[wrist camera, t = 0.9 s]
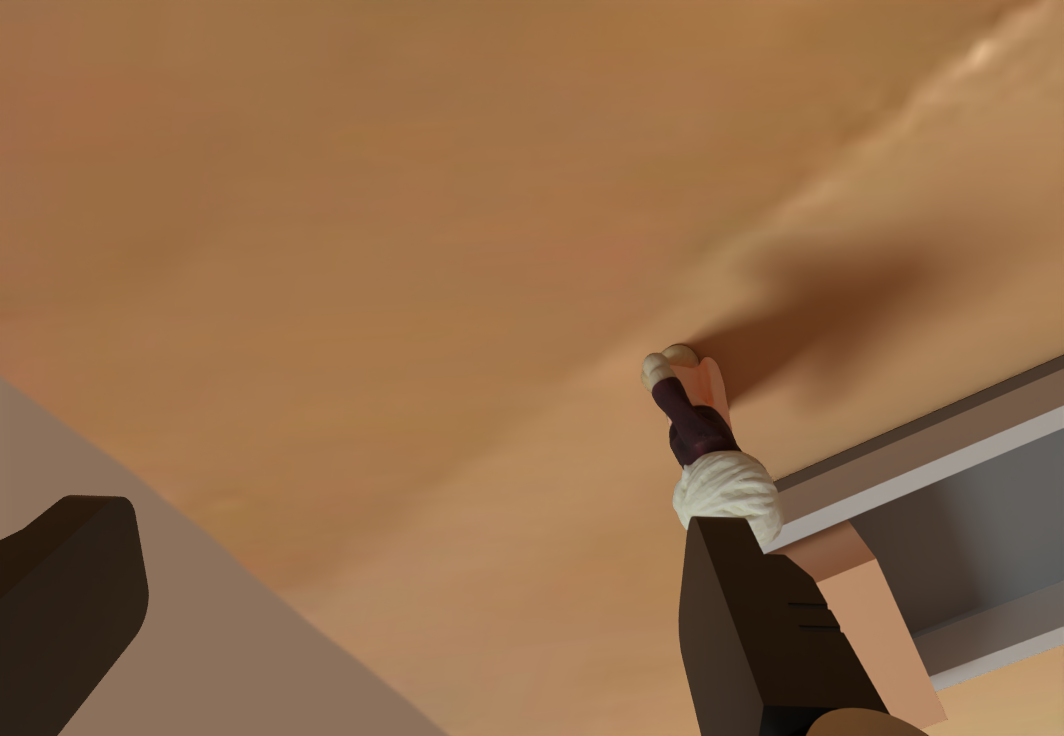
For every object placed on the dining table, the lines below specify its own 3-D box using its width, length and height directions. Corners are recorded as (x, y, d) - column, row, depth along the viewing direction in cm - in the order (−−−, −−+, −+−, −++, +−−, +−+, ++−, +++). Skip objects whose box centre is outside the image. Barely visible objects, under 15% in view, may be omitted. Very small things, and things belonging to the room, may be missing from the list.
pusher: (832, 498, 35) (876, 558, 30) (897, 643, 38) (947, 719, 33) (715, 548, 36) (740, 614, 31) (787, 685, 39) (820, 765, 34)
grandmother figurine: (760, 412, 35) (871, 569, 23) (696, 460, 36) (770, 636, 24) (658, 294, 33) (720, 397, 21) (593, 348, 34) (617, 476, 22)
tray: (1107, 335, 33) (1178, 365, 30) (1167, 540, 37) (1238, 589, 33) (699, 515, 37) (717, 561, 33) (789, 686, 40) (814, 746, 36)
